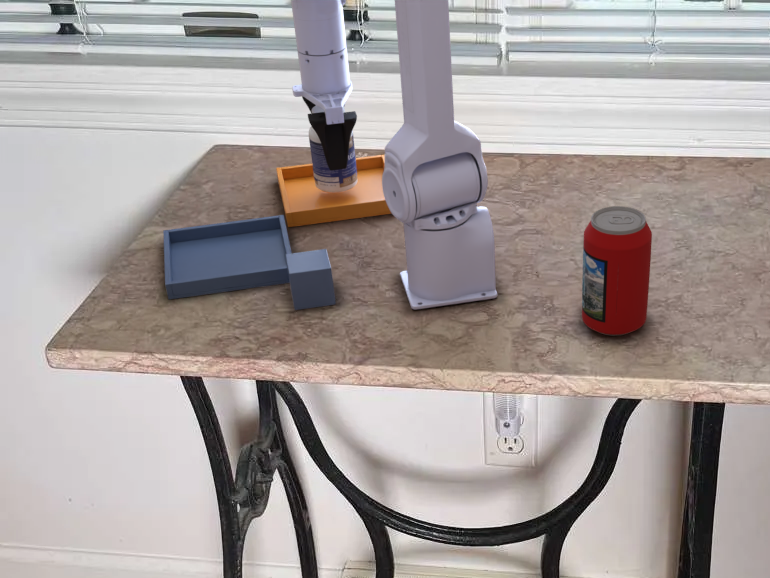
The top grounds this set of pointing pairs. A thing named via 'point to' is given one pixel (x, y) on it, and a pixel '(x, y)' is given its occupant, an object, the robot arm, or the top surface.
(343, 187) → the pill bottle
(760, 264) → the top surface
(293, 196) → the amber tray
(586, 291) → the beverage can
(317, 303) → the blue block
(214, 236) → the blue tray
